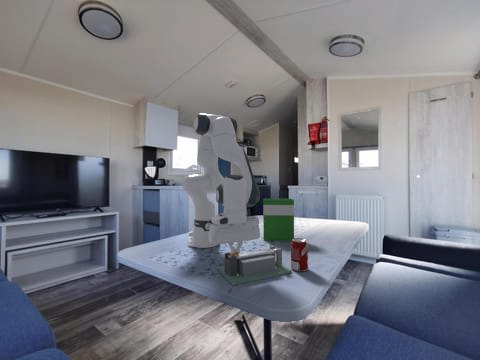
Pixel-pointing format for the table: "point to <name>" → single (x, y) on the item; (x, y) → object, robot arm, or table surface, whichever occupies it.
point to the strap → (252, 253)
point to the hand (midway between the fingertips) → (235, 253)
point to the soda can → (299, 254)
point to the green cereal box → (278, 219)
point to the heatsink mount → (253, 267)
